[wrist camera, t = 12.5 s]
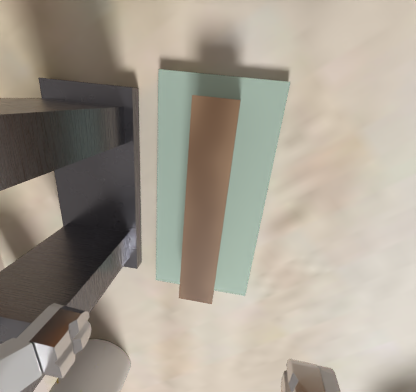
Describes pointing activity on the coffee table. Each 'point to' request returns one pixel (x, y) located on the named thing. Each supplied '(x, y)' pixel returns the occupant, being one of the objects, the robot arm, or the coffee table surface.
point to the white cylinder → (96, 369)
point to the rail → (206, 192)
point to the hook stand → (72, 195)
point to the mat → (239, 177)
